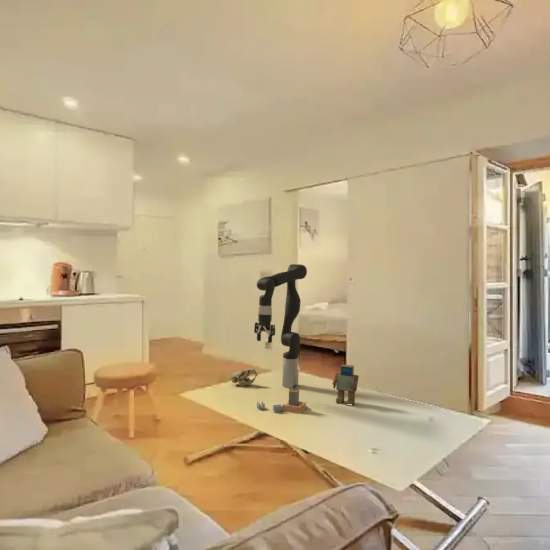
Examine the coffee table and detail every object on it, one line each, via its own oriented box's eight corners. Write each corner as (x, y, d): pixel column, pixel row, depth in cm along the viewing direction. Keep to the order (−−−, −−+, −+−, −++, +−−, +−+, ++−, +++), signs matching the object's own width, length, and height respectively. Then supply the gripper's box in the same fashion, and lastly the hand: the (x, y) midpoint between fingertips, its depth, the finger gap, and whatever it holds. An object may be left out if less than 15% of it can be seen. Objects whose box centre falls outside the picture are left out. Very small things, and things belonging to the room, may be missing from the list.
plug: (291, 405, 221) (291, 383, 221) (298, 406, 219) (299, 384, 219) (288, 407, 217) (289, 385, 217) (296, 408, 215) (296, 386, 215)
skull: (258, 384, 255) (254, 368, 255) (233, 391, 255) (228, 375, 256) (259, 380, 265) (255, 365, 265) (235, 387, 265) (231, 371, 265)
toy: (331, 404, 228) (332, 366, 227) (336, 399, 236) (337, 363, 236) (355, 407, 223) (356, 369, 223) (358, 402, 232) (359, 366, 232)
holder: (279, 410, 215) (279, 404, 215) (287, 404, 225) (287, 399, 225) (300, 413, 211) (300, 408, 211) (307, 407, 221) (307, 401, 221)
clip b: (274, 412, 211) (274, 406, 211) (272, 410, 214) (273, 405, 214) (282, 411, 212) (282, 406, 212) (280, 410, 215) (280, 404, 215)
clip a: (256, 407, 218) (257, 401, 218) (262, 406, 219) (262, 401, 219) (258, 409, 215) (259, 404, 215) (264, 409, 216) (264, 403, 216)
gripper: (278, 314, 239) (277, 342, 239) (260, 312, 248) (259, 339, 248) (269, 314, 233) (268, 344, 233) (251, 312, 243) (250, 340, 243)
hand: (264, 341), depth 241 cm, fingers open, 8 cm apart
